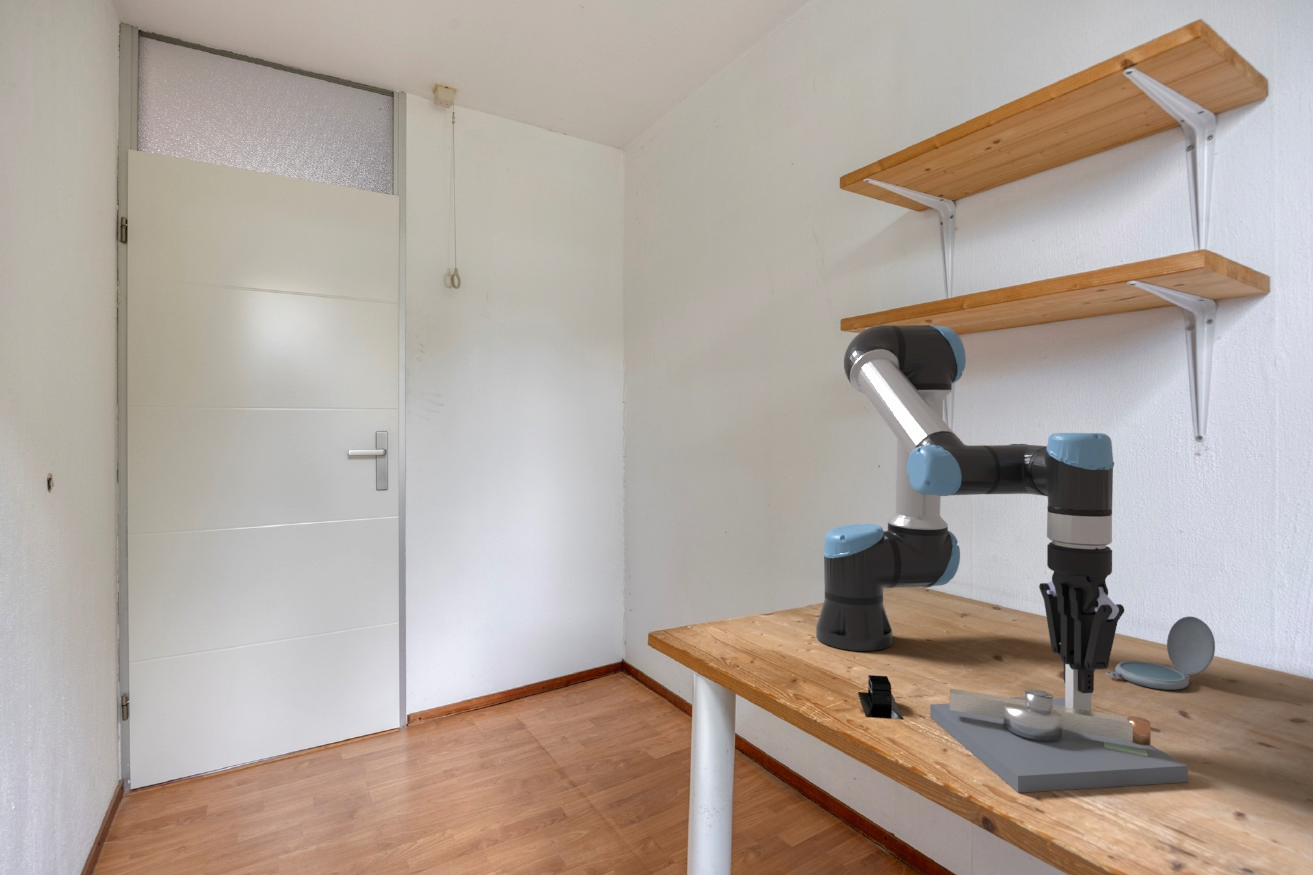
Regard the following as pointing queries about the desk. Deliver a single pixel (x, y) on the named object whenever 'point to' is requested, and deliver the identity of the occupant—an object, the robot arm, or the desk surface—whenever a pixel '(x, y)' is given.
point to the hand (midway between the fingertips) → (1078, 711)
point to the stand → (1058, 755)
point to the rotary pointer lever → (1049, 717)
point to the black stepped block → (879, 699)
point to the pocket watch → (1174, 658)
